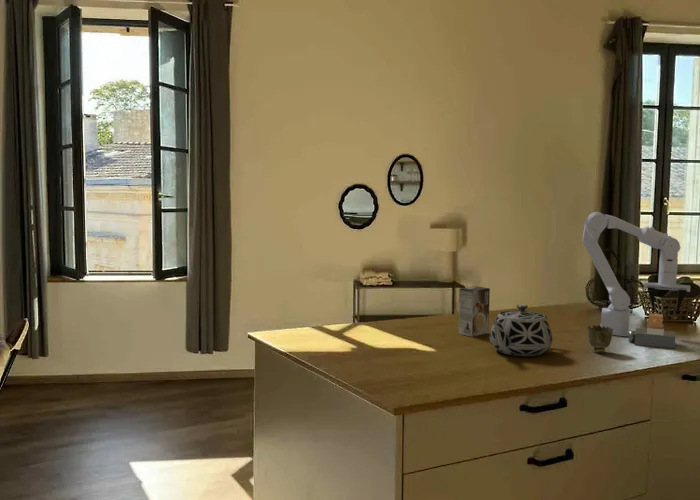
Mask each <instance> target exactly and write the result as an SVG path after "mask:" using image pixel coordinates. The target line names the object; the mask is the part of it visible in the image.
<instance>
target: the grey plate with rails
mask: <svg viewBox="0 0 700 500" xmlns="http://www.w3.org/2000/svg"><path fill="white" fill-rule="evenodd" d="M628 342H633V343H634V346H638V345H639V346H640V347H647V348H648V347H650V348H651V347H652V348H657V349H660V348H661V349H670V350H675V348H676V347H675V346H676V345H675V344H676V332H675V331H670V330H665V329H664V324H662V329H658V328H649V323H646V328H639V327H637V328H635V330H629V337H628ZM639 346H638V347H639Z"/></svg>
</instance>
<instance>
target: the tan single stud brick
mask: <svg viewBox="0 0 700 500" xmlns="http://www.w3.org/2000/svg"><path fill="white" fill-rule="evenodd" d="M648 316H649V317H648V319H649V320H648V324H649V328H658V329H662V325H663V322H664V321H663V320H664V319H663V317H664V314H661V313H651V312H650V313H649V315H648Z"/></svg>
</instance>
